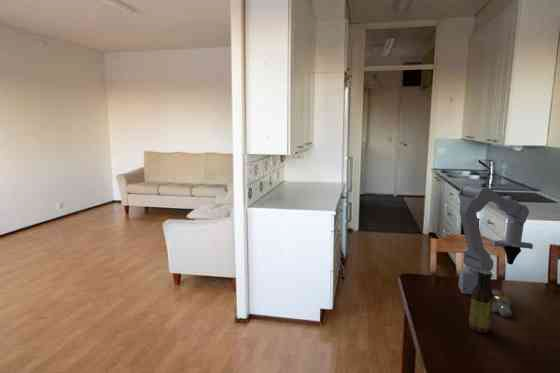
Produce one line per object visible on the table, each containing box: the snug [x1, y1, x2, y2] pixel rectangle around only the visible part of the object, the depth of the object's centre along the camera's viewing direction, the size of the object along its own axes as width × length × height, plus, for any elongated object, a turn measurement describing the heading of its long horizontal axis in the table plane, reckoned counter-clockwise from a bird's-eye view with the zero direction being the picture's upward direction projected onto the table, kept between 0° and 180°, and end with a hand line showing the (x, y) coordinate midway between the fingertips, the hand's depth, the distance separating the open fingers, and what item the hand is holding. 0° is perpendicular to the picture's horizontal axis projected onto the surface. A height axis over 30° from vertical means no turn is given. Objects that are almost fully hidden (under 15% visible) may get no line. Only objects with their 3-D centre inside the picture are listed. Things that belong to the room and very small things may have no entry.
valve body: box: [492, 289, 513, 318], centre depth 140 cm, size 6×14×4 cm, turn 167°
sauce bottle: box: [468, 270, 493, 334], centre depth 124 cm, size 7×6×20 cm
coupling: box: [494, 295, 512, 309], centre depth 141 cm, size 5×4×4 cm
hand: (509, 263), depth 158 cm, fingers closed
